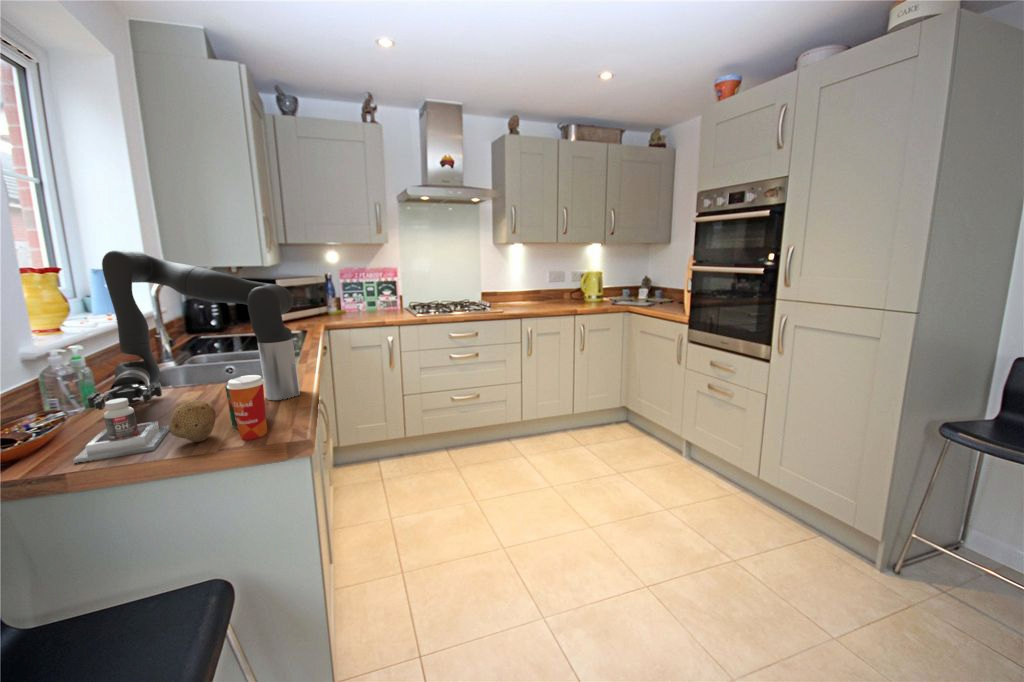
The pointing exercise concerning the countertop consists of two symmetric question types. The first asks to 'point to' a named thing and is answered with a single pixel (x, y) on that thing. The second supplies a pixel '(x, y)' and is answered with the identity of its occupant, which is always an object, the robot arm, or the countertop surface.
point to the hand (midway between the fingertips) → (123, 402)
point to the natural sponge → (193, 420)
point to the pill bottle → (120, 419)
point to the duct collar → (123, 443)
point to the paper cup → (248, 405)
